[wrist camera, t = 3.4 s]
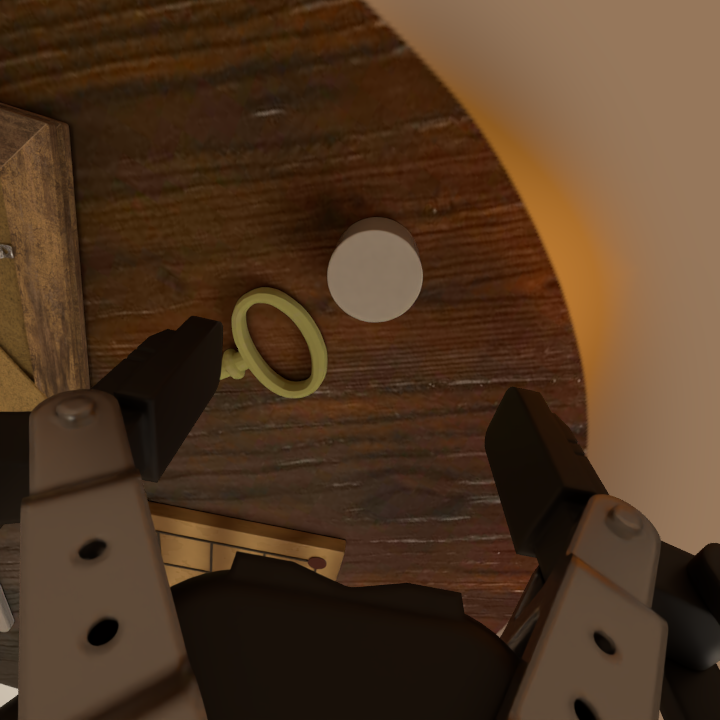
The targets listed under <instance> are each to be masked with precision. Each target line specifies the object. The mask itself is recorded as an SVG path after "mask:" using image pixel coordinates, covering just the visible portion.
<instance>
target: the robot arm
mask: <svg viewBox="0 0 720 720" xmlns="http://www.w3.org/2000/svg"><path fill="white" fill-rule="evenodd" d="M222 345H223V325H222V323H221V322H219V321H215V320H210V319H206V318H201V317H197V316H191V317H190V318H189V319H187V320H186V321H185V322H184V323H183V324H182V325H181V326H180V327H179V328H178V329H177V330H176V331H174V330H170V329H167V330H164V331H162V332H159V333H157V334H155V335H152V336H150V337H148V338H147V339H146V340H145V341H144V342H143V343H142V344H141V345H139V346H138V348H137V350H136V349H135V350H134V351H133V352H132V353H131V354H129V355H128V357H127V359H124V360H123V361H122V362H120V363H119V364H118V365H117V366H116V367H115V368H114V369H113V370H111V371H110V372H109V373H108V374H107V375H106V376H105V377H104V378H102V379H101V380H100V381H99V382H98V383H97V384H96V385H95V386H94V387H92V388H91V389H77V390H70V391H65V392H62V393H59V394H56V395H53V396H51V397H49V398H47V399H45V400H43V401H42V402H40V403H39V404H38V405H37V406H36V407H35V408H34V409H33V410H32V411H20V412H0V528H1V527H2V526H3V525H4V524H12V523H20V603H19V688H18V690H19V691H18V695H17V696H16V697H14V698H13V699H12V700H10V701H9V702H7V703H6V704H5V705H3V706H2V707H0V720H658V718H659V710H660V712H661V714H662V716H663V719H664V720H720V670H719V668H718V666H717V664H716V663H717V662H718V661H720V544H718V543H710V544H708V545H706V546H705V547H704V548H703V549H702V550H701V551H700V552H699V553H697V554H696V555H695V556H694V555H692V554H690V553H688V552H685V551H683V550H681V549H679V548H677V547H674V546H672V545H670V544H667V543H665V542H663V541H661V540H660V536H659V534H658V532H657V530H656V529H655V527H654V526H653V525H652V523H651V522H650V521H649V520H648V519H647V518H646V517H645V516H644V515H643V514H642V513H641V512H640V511H638V510H637V509H636V508H634V507H633V506H631V505H630V504H628V503H627V502H624V501H623V500H621V499H619V498H616V497H613V496H610V495H609V494H608V492H607V490H606V489H605V487H604V485H603V484H602V482H601V480H600V479H599V477H598V475H597V474H596V472H595V470H594V469H593V467H592V465H591V464H590V462H589V460H588V458H587V457H585V456H584V454H585V453H584V452H583V450H582V448H581V447H580V445H578V444H577V440H576V438H575V437H574V435H573V433H572V432H571V430H570V428H569V427H568V426H567V425H566V424H565V423H564V422H563V421H562V420H561V419H560V418H559V417H558V416H556V415H555V414H554V413H552V412H551V410H550V409H549V407H548V405H547V403H546V402H545V400H544V398H543V396H542V395H541V394H540V393H539V392H535V391H531V390H526V389H522V388H517V387H510V388H509V389H508V390H507V391H506V393H505V395H504V397H503V399H502V401H501V403H500V405H499V407H498V409H497V411H496V413H495V415H494V417H493V419H492V421H491V423H490V425H489V427H488V429H487V432H486V436H485V450H486V454H487V457H488V460H489V464H490V467H491V470H492V474H493V477H494V481H495V484H496V487H497V491H498V494H499V497H500V501H501V504H502V507H503V511H504V514H505V517H506V521H507V524H508V527H509V531H510V534H511V537H512V541H513V544H514V547H515V551H516V554H520V555H525V556H530V557H535V558H537V560H538V563H539V566H538V567H537V568H536V569H535V571H534V572H533V574H532V576H531V578H530V580H529V582H528V584H527V586H526V588H525V590H524V592H523V594H522V596H521V598H520V600H519V602H518V604H517V606H516V608H515V610H514V612H513V614H512V616H511V618H510V620H509V622H508V624H507V626H506V628H505V630H504V632H503V634H502V635H501V637H500V638H499V637H498V636H497V635H496V634H495V633H494V632H492V631H491V630H490V629H488V628H487V627H486V626H484V625H483V624H482V623H480V622H478V621H477V620H475V619H473V618H472V617H470V616H468V615H466V614H464V609H463V602H462V596H461V593H459V592H454V591H448V590H443V589H438V588H432V587H427V586H421V585H416V584H411V583H400V584H389V585H377V586H366V587H347V586H344V585H342V584H340V583H338V582H336V581H334V580H331V579H329V578H327V577H325V576H323V575H321V574H319V573H317V572H314V571H312V570H310V569H308V568H306V567H304V566H302V565H299V564H297V563H295V562H293V561H287V560H282V559H277V558H271V557H266V556H261V555H255V554H250V553H245V552H239V551H237V552H236V555H235V557H234V560H233V563H232V566H231V569H229V570H219V571H214V572H209V573H204V574H201V575H198V576H195V577H192V578H189V579H187V580H184V581H182V582H180V583H178V584H175V585H173V586H171V587H170V586H169V582H168V578H167V574H166V570H165V566H164V562H163V558H162V555H161V551H160V547H159V543H158V539H157V535H156V531H155V528H154V524H153V520H152V516H151V512H150V508H149V504H148V501H147V497H146V493H145V489H144V485H143V481H142V480H146V481H151V482H156V483H157V482H158V480H159V479H160V477H161V476H162V474H163V473H164V471H165V469H166V468H167V466H168V465H169V463H170V462H171V460H172V459H173V457H174V455H175V454H176V452H177V451H178V449H179V448H180V446H181V445H182V443H183V441H184V440H185V438H186V437H187V435H188V434H189V432H190V431H191V429H192V427H193V426H194V424H195V423H196V421H197V420H198V418H199V417H200V415H201V413H202V412H203V410H204V409H205V407H206V406H207V404H208V403H209V401H210V399H211V398H212V396H213V395H214V393H215V392H216V389H217V387H218V384H219V381H220V377H221V368H222Z"/></svg>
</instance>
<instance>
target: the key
mask: <svg viewBox="0 0 720 720" xmlns="http://www.w3.org/2000/svg"><path fill="white" fill-rule="evenodd" d="M256 303H267V304H271V305H273V306H275V307H276V308H278V309H280V310H281V311H282V312H284V313H285V314H286V315H287V316H289V317H290V318H291V319H292V320H293V322H294V323H295V324H296V325H297V327H298V328H299V329H300V331H301V333H302V334H303V336H304V338H305V340H306V342H307V345H308V348H309V351H310V354H311V361H312V373H311V376H310V377H309V378H308V379H307V380H304V381H298V382H294V381H289V380H286V379H284V378H283V377H281V376H280V375H278V374H277V373H276V372H274V371H273V370H272V369H271V368H270V367H269V366H268V364H267V363H266V362H265V361H264V360H263V358H262V357H261V355H260V354H259V352H258V351H257V349H256V347H255V345H254V343H253V341H252V339H251V337H250V334H249V332H248V328H247V324H246V312H247V310H248V309H249V307H250V306H252V305H253V304H256ZM232 333H233V337H234V341H235V344H236V346H237V348H238V350H239V352H237V351H235V350H234V349H228V350H226V351H225V352H224V354H223V358H222V368H221V377H220V380H221V379H224V378H227V377H229V376H231V377H233V378H234V379H241V378H242V377H243V376H244V375H245V370H247V369H250V370H251V372H252V373H253V374H254V375H255V376H256V378H257V379H258V380H259V381H260V382H261V383H262V384H263V385H264V386H266V387H267V388H268V389H270V390H271V391H273V392H275V393H276V394H278V395H280V396H283V397H287V398H301V397H305V396H308V395H310V394H312V393H313V392H315V391H316V390H317V389H318V387H319V386H320V384H321V383H322V381H323V380H324V378H325V375H326V372H327V363H328V362H327V350H326V346H325V343H324V340H323V338H322V335H321V333H320V331H319V329H318V327H317V325H316V324H315V322H314V321H313V319H312V318H311V316H310V315H309V313H308V312H307V311H306V310H305V309H304V308H303V307H302V306H301V305H300V304H299V303H297V302H296V301H295V300H294V299H293V298H291V297H290V296H288V295H287V294H285V293H284V292H282V291H280V290H278V289H274V288H270V287H260V288H257V289H254V290H252V291H250V292H248V293H246V294H244V295H243V296H242V297H241V298H240V299H239V300H238V301H237V303H236V305H235V307H234V310H233V314H232Z"/></svg>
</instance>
